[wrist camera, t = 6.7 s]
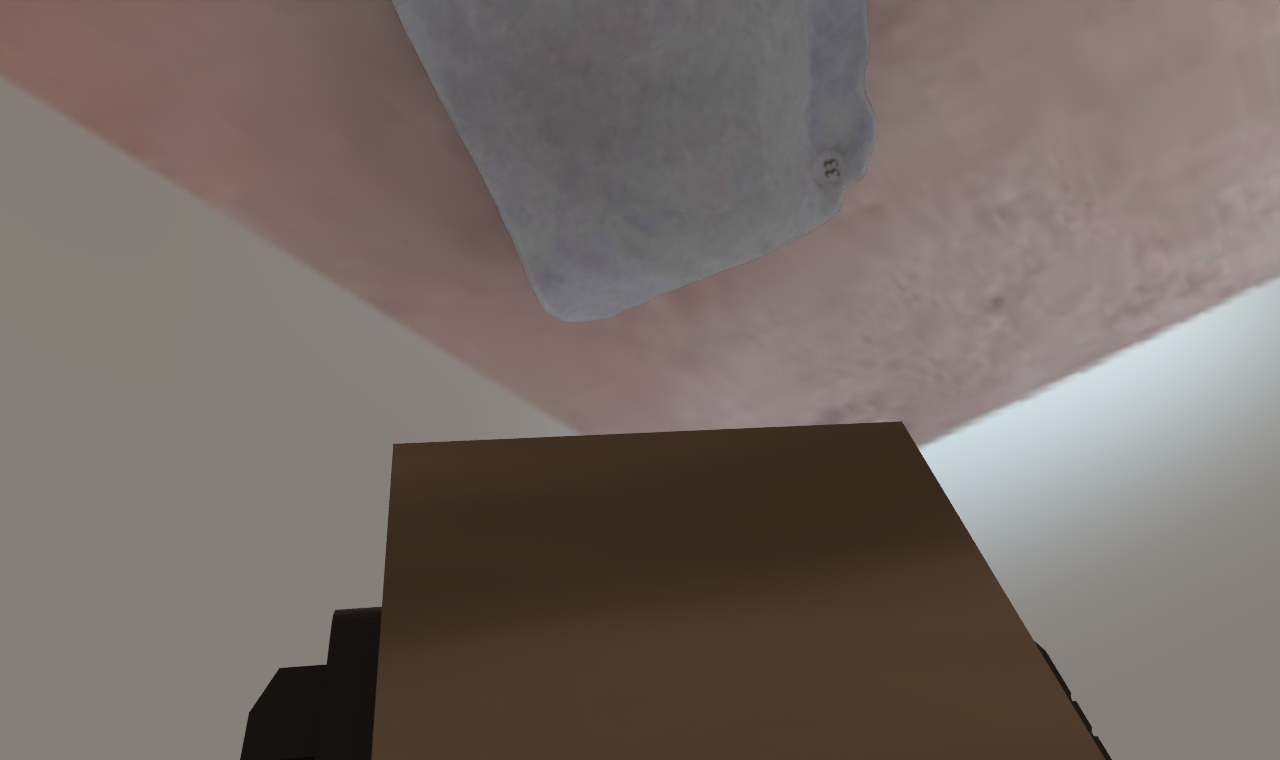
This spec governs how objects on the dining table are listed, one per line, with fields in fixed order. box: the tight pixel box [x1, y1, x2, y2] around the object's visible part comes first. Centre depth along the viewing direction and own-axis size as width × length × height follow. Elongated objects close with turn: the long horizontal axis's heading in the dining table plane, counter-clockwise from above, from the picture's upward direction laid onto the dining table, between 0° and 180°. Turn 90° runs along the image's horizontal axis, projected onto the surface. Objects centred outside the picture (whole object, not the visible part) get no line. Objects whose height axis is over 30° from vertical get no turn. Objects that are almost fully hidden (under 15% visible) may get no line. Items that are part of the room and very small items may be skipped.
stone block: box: [391, 0, 878, 322], centre depth 25 cm, size 12×5×10 cm
